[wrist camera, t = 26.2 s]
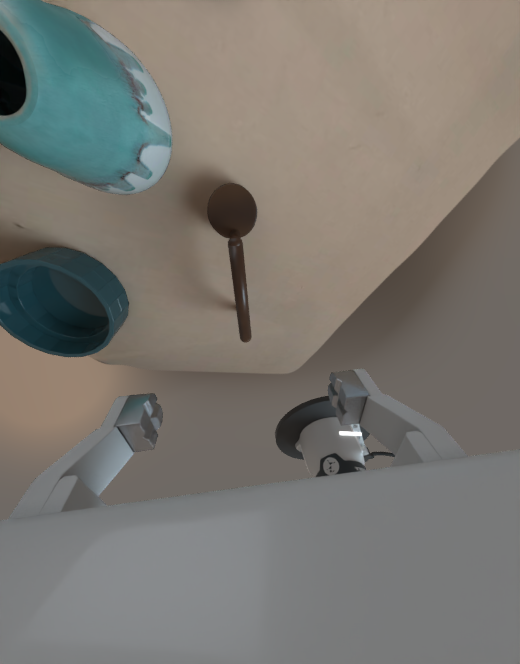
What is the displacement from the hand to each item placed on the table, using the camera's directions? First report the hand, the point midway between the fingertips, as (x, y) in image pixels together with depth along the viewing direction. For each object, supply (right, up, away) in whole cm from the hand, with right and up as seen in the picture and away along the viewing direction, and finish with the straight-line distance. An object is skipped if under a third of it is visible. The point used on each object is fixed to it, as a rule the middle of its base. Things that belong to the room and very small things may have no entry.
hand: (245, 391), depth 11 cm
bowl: (-27, +8, +24) cm, 37 cm away
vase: (-14, +25, +15) cm, 32 cm away
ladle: (-3, +14, +24) cm, 27 cm away
